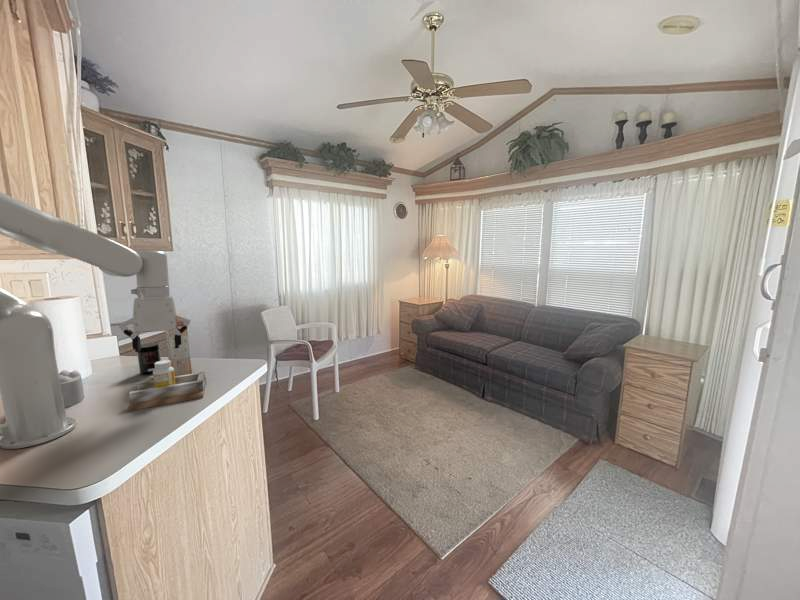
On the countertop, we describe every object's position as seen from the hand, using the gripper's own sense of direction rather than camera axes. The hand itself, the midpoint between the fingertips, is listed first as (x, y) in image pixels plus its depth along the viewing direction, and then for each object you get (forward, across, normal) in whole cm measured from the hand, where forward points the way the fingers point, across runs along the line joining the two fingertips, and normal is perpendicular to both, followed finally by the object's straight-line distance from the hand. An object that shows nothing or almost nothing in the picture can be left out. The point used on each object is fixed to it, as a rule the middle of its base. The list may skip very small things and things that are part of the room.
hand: (158, 349), depth 98 cm
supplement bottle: (+14, +1, 0) cm, 14 cm away
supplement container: (+15, -8, +29) cm, 33 cm away
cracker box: (+15, +2, +23) cm, 27 cm away
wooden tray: (+15, +2, +1) cm, 15 cm away
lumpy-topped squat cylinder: (+16, -27, +12) cm, 33 cm away
